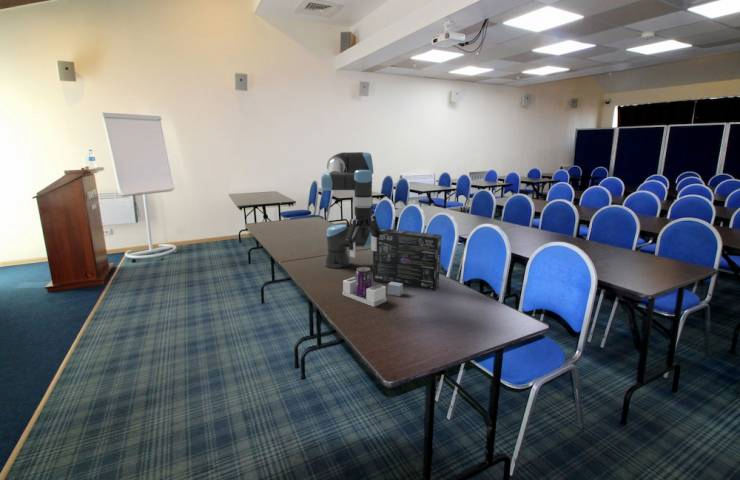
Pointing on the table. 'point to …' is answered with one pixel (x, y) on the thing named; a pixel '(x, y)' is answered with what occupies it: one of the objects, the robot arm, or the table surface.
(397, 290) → the block
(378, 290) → the block
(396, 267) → the box
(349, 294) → the white base plate
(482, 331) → the table surface
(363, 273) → the beverage can
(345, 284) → the block
